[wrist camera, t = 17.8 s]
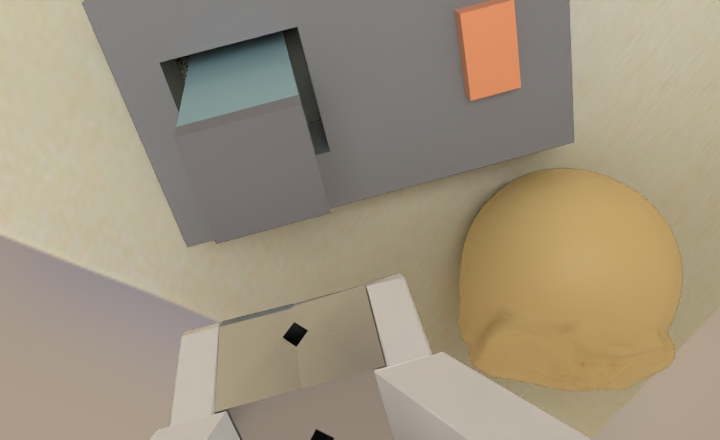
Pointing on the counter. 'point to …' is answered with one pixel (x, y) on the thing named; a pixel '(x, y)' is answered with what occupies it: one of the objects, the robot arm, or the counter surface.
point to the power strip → (360, 83)
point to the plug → (248, 139)
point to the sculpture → (569, 283)
